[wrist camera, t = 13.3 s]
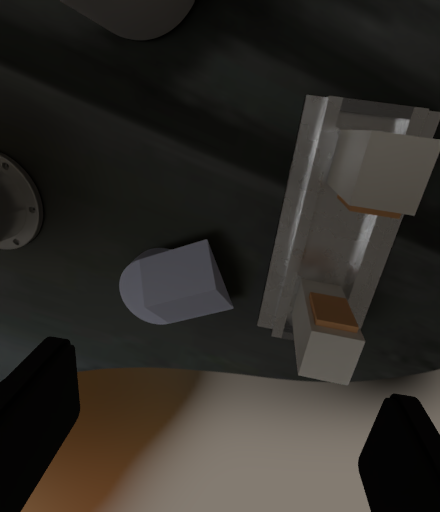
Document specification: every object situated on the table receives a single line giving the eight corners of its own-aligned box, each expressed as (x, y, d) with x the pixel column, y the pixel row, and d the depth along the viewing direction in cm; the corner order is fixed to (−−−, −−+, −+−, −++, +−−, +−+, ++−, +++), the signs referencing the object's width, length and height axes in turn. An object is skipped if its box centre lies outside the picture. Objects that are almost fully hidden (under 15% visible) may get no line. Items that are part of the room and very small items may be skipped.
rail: (257, 319, 40) (256, 333, 37) (305, 96, 30) (308, 93, 27) (351, 337, 39) (357, 353, 36) (434, 113, 29) (451, 111, 26)
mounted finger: (291, 314, 38) (298, 375, 28) (302, 274, 35) (313, 324, 26) (328, 322, 37) (348, 385, 28) (342, 281, 35) (367, 335, 26)
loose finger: (324, 188, 31) (346, 213, 22) (340, 129, 29) (371, 130, 20) (369, 195, 31) (411, 223, 22) (389, 136, 29) (444, 140, 20)
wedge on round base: (212, 229, 37) (119, 258, 40) (200, 250, 30) (92, 281, 34) (236, 294, 39) (147, 316, 43) (230, 325, 33) (127, 347, 37)
